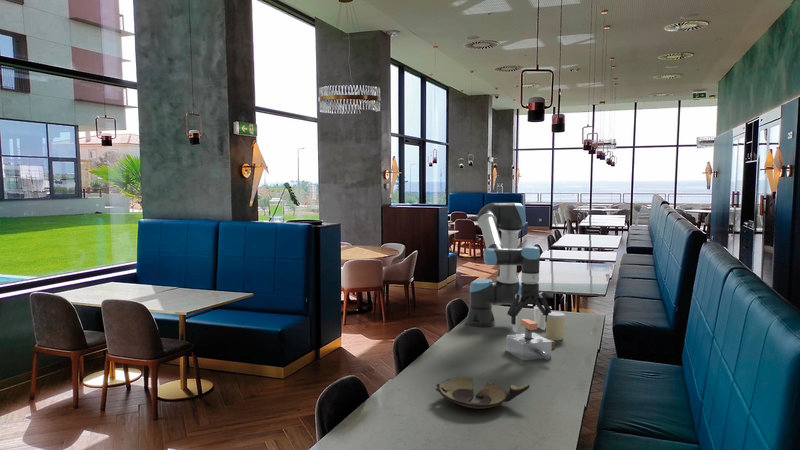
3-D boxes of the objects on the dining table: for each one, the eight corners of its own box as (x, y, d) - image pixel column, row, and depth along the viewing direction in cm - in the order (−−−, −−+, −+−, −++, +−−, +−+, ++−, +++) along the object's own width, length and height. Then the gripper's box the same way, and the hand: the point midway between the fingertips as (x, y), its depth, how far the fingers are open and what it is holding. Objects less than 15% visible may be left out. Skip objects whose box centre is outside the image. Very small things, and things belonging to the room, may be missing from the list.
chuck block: (506, 350, 240) (506, 335, 239) (533, 347, 244) (534, 332, 243) (533, 367, 218) (534, 350, 217) (563, 364, 222) (564, 347, 221)
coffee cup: (562, 335, 264) (563, 311, 263) (566, 341, 254) (567, 316, 254) (543, 335, 265) (543, 311, 264) (546, 340, 255) (547, 315, 254)
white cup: (532, 327, 278) (533, 308, 277) (533, 324, 285) (534, 305, 284) (548, 329, 275) (549, 310, 274) (549, 325, 283) (549, 306, 282)
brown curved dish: (452, 385, 198) (452, 365, 198) (533, 402, 183) (533, 380, 183) (424, 407, 179) (425, 385, 178) (512, 428, 164) (512, 404, 163)
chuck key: (529, 350, 231) (530, 323, 230) (520, 344, 238) (520, 319, 237) (536, 349, 232) (537, 323, 231) (526, 344, 239) (527, 318, 238)
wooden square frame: (530, 344, 249) (530, 338, 249) (545, 343, 251) (545, 336, 251) (539, 349, 241) (539, 343, 241) (554, 348, 244) (555, 341, 243)
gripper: (508, 285, 225) (507, 334, 227) (560, 282, 233) (558, 330, 234) (500, 282, 232) (499, 330, 234) (550, 279, 240) (549, 326, 242)
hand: (528, 330), depth 234 cm, fingers open, 13 cm apart
